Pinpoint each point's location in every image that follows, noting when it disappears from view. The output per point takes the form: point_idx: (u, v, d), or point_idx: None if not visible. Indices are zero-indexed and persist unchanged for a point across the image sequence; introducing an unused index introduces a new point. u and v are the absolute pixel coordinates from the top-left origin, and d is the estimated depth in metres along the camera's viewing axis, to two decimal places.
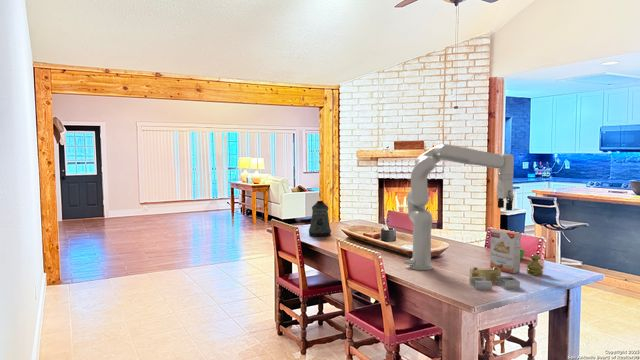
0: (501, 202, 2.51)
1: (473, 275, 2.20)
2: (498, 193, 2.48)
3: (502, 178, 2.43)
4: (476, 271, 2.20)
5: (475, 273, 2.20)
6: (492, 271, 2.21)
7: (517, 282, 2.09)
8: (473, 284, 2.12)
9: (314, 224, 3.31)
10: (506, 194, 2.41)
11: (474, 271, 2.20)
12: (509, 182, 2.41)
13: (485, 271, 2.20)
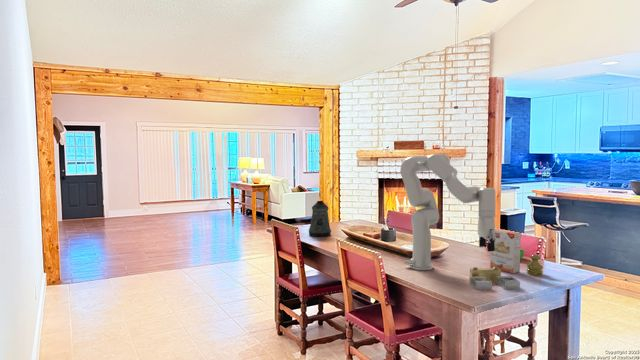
0: (483, 240, 2.25)
1: (473, 275, 2.20)
2: (479, 231, 2.22)
3: (483, 215, 2.17)
4: (476, 271, 2.20)
5: (475, 273, 2.20)
6: (492, 271, 2.21)
7: (517, 282, 2.09)
8: (473, 284, 2.12)
9: (314, 224, 3.31)
10: (487, 233, 2.15)
11: (474, 271, 2.20)
12: (491, 219, 2.15)
13: (485, 271, 2.20)
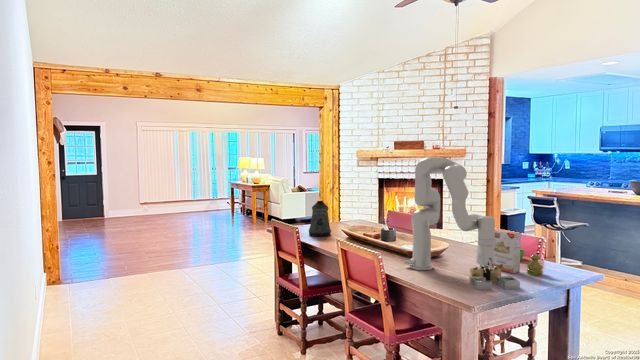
0: None
1: (473, 275, 2.20)
2: (478, 259, 2.23)
3: (482, 244, 2.18)
4: (476, 271, 2.20)
5: (475, 273, 2.20)
6: (492, 271, 2.20)
7: (517, 282, 2.09)
8: (473, 284, 2.12)
9: (314, 224, 3.31)
10: (486, 262, 2.16)
11: (474, 271, 2.20)
12: (490, 249, 2.16)
13: None
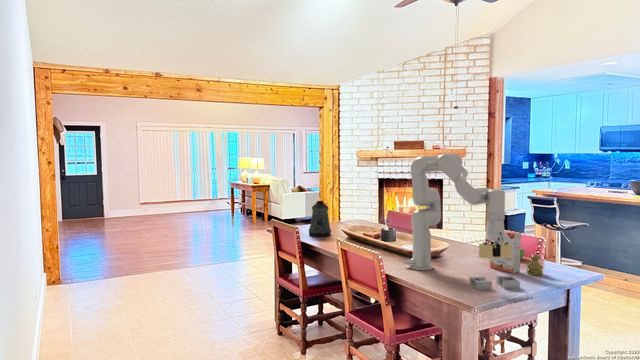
0: None
1: (483, 250, 2.10)
2: (487, 234, 2.13)
3: (491, 218, 2.08)
4: (486, 246, 2.10)
5: (485, 248, 2.10)
6: (502, 246, 2.11)
7: (517, 282, 2.09)
8: (473, 284, 2.12)
9: (314, 224, 3.31)
10: (496, 237, 2.06)
11: (484, 246, 2.10)
12: (500, 222, 2.07)
13: None
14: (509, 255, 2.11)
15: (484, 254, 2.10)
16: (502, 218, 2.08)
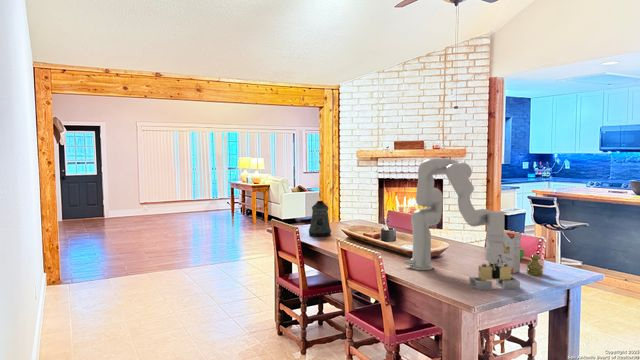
0: None
1: (482, 272, 2.11)
2: (487, 256, 2.14)
3: (491, 240, 2.09)
4: (485, 268, 2.11)
5: (484, 270, 2.11)
6: (502, 268, 2.11)
7: (517, 282, 2.09)
8: (473, 284, 2.12)
9: (314, 224, 3.31)
10: (496, 259, 2.07)
11: (483, 268, 2.11)
12: (499, 245, 2.07)
13: None
14: (508, 277, 2.12)
15: (484, 276, 2.11)
16: (501, 240, 2.08)
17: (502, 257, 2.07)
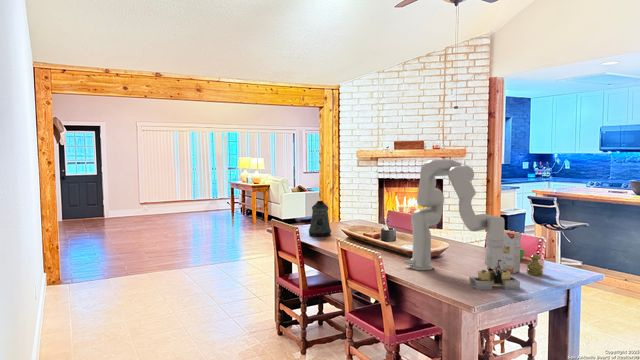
0: None
1: (481, 278, 2.11)
2: (487, 261, 2.14)
3: (491, 245, 2.09)
4: (485, 274, 2.11)
5: (483, 276, 2.11)
6: None
7: (517, 282, 2.09)
8: (473, 284, 2.12)
9: (314, 224, 3.31)
10: (495, 264, 2.07)
11: (482, 274, 2.11)
12: (499, 250, 2.07)
13: (494, 274, 2.11)
14: None
15: None
16: (501, 245, 2.09)
17: (502, 262, 2.08)
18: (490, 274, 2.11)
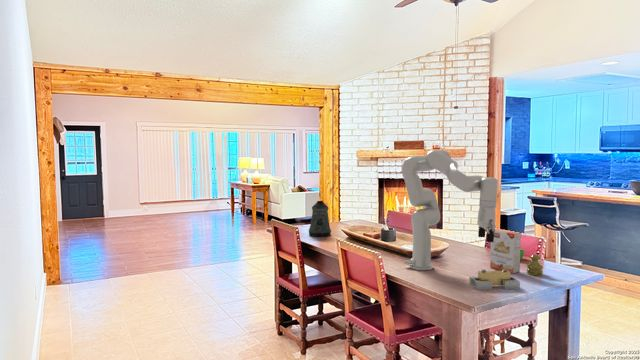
0: (482, 231, 2.22)
1: (481, 278, 2.11)
2: (479, 221, 2.18)
3: (483, 205, 2.13)
4: (485, 274, 2.11)
5: (483, 276, 2.11)
6: (501, 274, 2.12)
7: (517, 282, 2.09)
8: (473, 284, 2.12)
9: (314, 224, 3.31)
10: (487, 224, 2.11)
11: (482, 274, 2.11)
12: (491, 210, 2.11)
13: (494, 274, 2.11)
14: None
15: None
16: (494, 206, 2.12)
17: (494, 222, 2.12)
18: (490, 274, 2.11)
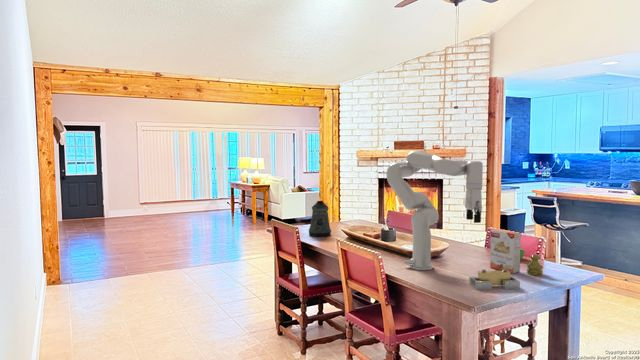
0: (470, 213, 2.30)
1: (481, 278, 2.11)
2: (466, 204, 2.27)
3: (470, 187, 2.22)
4: (485, 274, 2.11)
5: (483, 276, 2.11)
6: (501, 274, 2.12)
7: (517, 282, 2.09)
8: (473, 284, 2.12)
9: (314, 224, 3.31)
10: (474, 205, 2.20)
11: (482, 274, 2.11)
12: (478, 192, 2.20)
13: (494, 274, 2.11)
14: None
15: None
16: (480, 188, 2.21)
17: (480, 203, 2.20)
18: (490, 274, 2.11)
